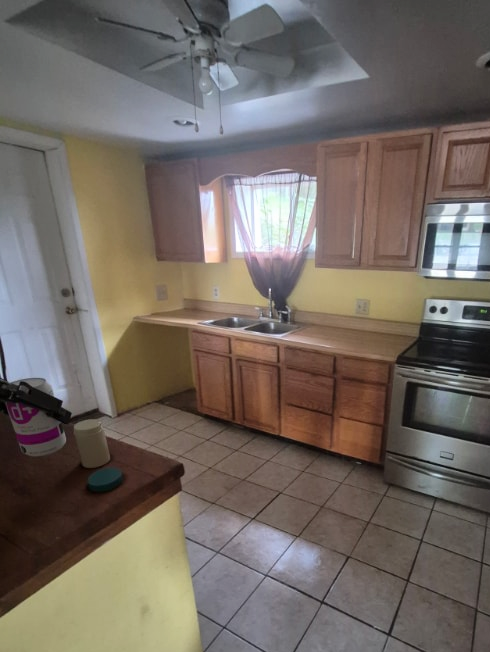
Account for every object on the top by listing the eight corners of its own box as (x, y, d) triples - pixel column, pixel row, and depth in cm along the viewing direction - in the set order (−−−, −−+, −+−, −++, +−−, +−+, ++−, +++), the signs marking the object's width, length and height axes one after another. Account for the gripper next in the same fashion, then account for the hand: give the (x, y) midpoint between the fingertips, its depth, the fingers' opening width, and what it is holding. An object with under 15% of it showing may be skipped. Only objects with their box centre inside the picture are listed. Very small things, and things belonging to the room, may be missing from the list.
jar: (76, 466, 91) (65, 429, 87) (92, 453, 97) (84, 417, 93) (100, 469, 90) (90, 431, 86) (115, 455, 96) (107, 419, 92)
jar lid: (106, 494, 81) (105, 488, 81) (81, 488, 83) (79, 482, 83) (129, 476, 87) (128, 470, 87) (105, 471, 89) (103, 465, 89)
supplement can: (52, 458, 77) (32, 391, 71) (13, 457, 77) (-11, 390, 71) (74, 438, 84) (58, 376, 78) (38, 438, 84) (19, 376, 78)
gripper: (-115, 392, 59) (-3, 432, 80) (11, 395, 58) (91, 435, 80) (-95, 351, 62) (8, 400, 83) (26, 353, 61) (99, 403, 82)
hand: (48, 417), depth 81 cm, fingers closed on supplement can, 8 cm apart
